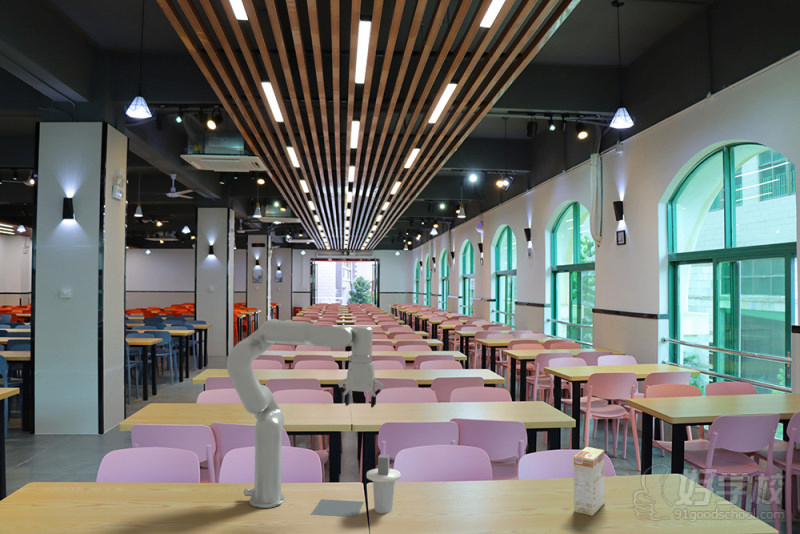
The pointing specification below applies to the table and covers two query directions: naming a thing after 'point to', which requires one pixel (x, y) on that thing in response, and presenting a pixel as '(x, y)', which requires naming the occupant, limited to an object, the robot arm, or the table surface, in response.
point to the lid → (383, 471)
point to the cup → (383, 496)
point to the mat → (338, 508)
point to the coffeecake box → (589, 481)
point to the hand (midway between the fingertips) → (359, 405)
